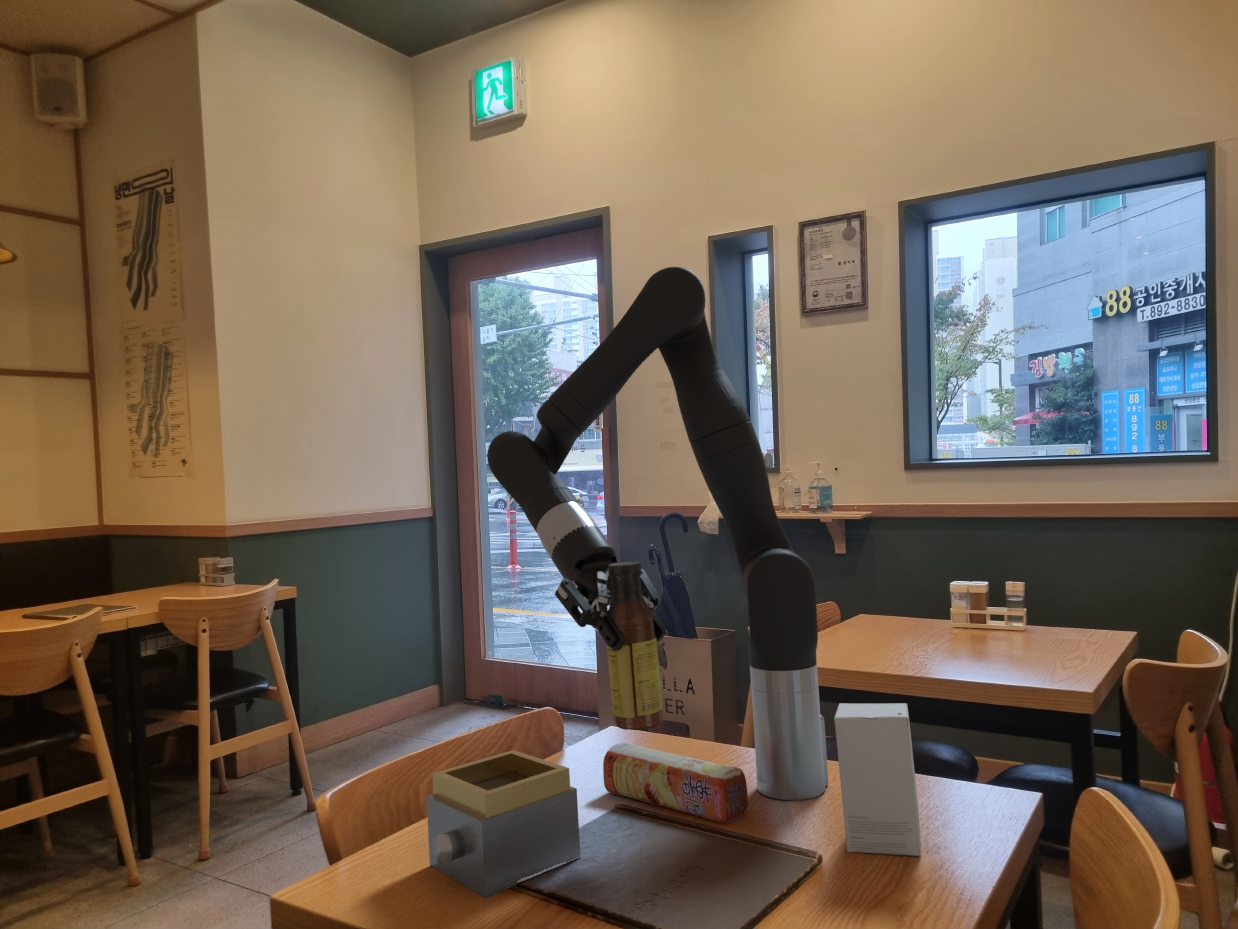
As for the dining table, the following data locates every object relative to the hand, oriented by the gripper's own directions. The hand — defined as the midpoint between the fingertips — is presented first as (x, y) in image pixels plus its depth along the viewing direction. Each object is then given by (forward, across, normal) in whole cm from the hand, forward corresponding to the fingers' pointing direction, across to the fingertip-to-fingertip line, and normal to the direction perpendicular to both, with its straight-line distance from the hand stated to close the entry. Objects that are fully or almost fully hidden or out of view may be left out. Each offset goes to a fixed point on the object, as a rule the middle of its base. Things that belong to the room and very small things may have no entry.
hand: (641, 641), depth 102 cm
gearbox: (+10, -15, +24) cm, 30 cm away
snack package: (+12, +11, +23) cm, 28 cm away
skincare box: (+32, +17, +3) cm, 36 cm away
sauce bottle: (+6, 0, +9) cm, 11 cm away
